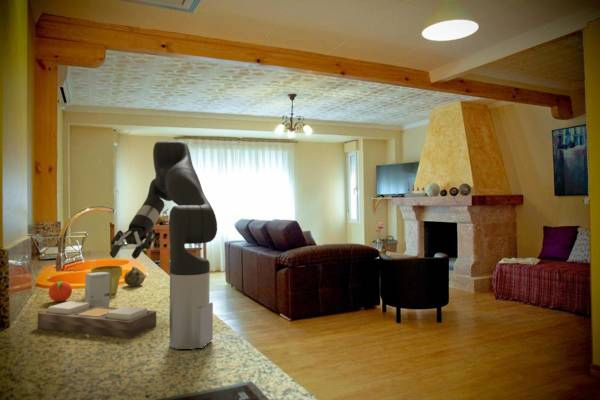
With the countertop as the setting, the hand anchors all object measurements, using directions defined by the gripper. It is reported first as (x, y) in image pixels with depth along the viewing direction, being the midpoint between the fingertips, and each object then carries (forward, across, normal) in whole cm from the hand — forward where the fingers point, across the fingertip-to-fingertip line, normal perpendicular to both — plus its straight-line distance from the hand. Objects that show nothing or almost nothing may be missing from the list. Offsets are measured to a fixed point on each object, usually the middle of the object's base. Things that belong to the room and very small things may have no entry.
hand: (122, 256), depth 140 cm
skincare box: (+19, 0, +3) cm, 20 cm away
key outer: (+25, +1, -8) cm, 27 cm away
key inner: (+25, +20, -8) cm, 34 cm away
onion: (-8, -16, +31) cm, 36 cm away
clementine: (+14, -22, +9) cm, 27 cm away
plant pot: (+3, -16, +19) cm, 25 cm away
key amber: (+26, +11, -7) cm, 29 cm away
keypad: (+28, +11, -6) cm, 30 cm away
